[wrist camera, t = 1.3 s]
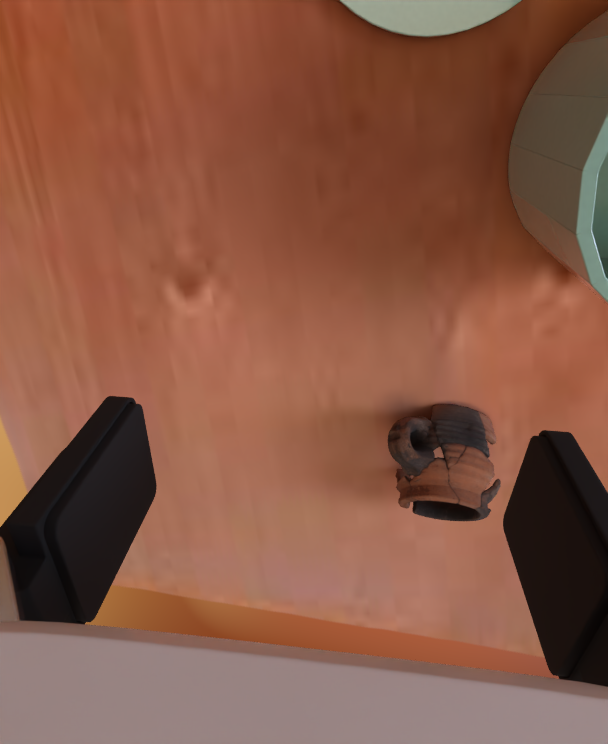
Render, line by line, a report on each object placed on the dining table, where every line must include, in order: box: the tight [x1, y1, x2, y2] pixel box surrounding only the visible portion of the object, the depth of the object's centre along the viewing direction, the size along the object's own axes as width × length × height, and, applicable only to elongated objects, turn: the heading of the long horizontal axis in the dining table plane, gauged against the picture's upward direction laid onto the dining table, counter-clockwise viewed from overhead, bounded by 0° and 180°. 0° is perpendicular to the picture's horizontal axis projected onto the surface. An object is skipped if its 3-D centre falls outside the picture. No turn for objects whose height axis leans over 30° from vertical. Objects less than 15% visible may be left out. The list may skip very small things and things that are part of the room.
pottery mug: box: [388, 405, 500, 521], centre depth 42 cm, size 12×10×8 cm
